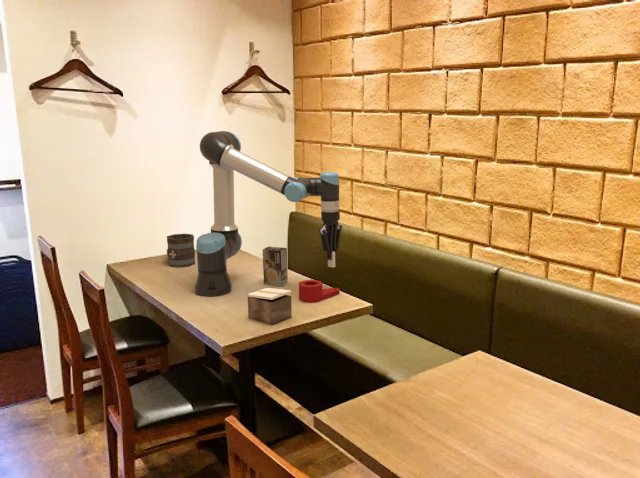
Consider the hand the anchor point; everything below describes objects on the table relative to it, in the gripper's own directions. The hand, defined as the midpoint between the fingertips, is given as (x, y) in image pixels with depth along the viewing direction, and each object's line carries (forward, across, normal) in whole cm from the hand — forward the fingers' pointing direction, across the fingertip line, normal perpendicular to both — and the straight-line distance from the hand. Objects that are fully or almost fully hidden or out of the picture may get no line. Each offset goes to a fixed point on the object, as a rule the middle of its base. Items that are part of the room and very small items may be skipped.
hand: (331, 266), depth 235 cm
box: (+10, -40, -2) cm, 41 cm away
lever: (+10, -11, -2) cm, 15 cm away
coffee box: (+10, -9, +24) cm, 27 cm away
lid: (+2, -40, +3) cm, 40 cm away
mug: (+9, -14, +84) cm, 85 cm away
